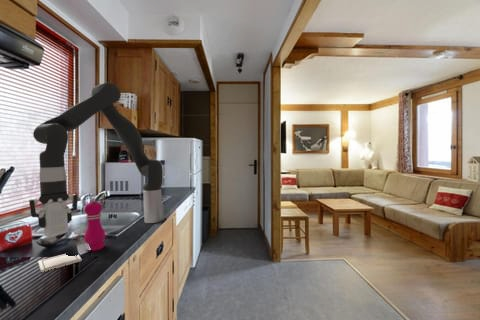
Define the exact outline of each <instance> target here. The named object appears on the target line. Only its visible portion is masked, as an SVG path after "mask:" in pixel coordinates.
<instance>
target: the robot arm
mask: <svg viewBox="0 0 480 320" xmlns="http://www.w3.org/2000/svg"><path fill="white" fill-rule="evenodd" d="M89 93H90V96H89V97H88V98H86V99H85V100H82V101H80V102H78V103H76V104H74V105H73V106H71V107H68V108H67V109H66V110H65V111H63V112H61V113H60V114H59V115H57V116H54V117H52V118H50V119H48V120H46V121H43V122H42V123H40V124H38V125H37V126H36V127H35V129H34V130H33V132H32V136H33V138H34V140H35V141H36V142H38V143H40V144H44V145H46V146H45V149H44V150H42V151H41V152H40V153H39V167H40V168H39V173H38V174H39V176H38V177H39V190H40V196H39V198H30V199H29V200H28V203H29V204H28V205H29V210H30V216H31V218H38V219H37V221H38V226H39V227H40V228H41V229H44V217H43V215H44V214H45V212H46V205H45V203H52V202H59V203H60V204H61V205H62V206H63V207H64V209H66V208H67V220H68V224H70V223H71V222H72V220H73V218H72V214H73V212H74V211H77V210H78V195H77V194H76V193H73V194H69V193H68V190H67V189H68V188H67V171H66V167H65V165H66V164H65V163H66V162H65V154H66V150H67V146H68V145H67V144H68V141H69V134H68V132H71V131H75V130H76V129H78V128H79V127H80V126H82V125H83V124H84V123H85V122H86V121H88V120H89V119H90V118H92V117H93V116H94V115H96V114H97V113H99V112H100V111H101V113H102V114H103V115H104V117H105V118H106V120H107V121H108V123H109V124H110V126H111V127H112V128H113V130H114V131H115V132H116V135H117V136H118V138H119V140H120V141H121V142H122V143H123V145H124V147H125V148H126V150H127V152H128V154H129V155H130V157H131V158H132V160H133V161H134V164H135V166H136V168H137V170H138V172H139V173H140V174H141V175H142V176H143V177H146V178H147V182H146V183H144V184H143V185H142V195H143V217H144V218H143V219H144V221H143V222H144V224H145V223H146V224H154V223H160V222H162V221H165V219H164V218H165V215H164V213H165V211H164V203H163V202H162V200H163V199H162V185H163V175H164V174H163V171H164V170H163V164H162V163H161V162H160V161H159V160H158V159H149V158H148V156H147V154H146V153H145V151H144V148H143V139H142V135H141V133H140V132H139V130H138V128H137V127H136V125H135V124H134V123H133V122H132V121H131V120H130V119H128V118H127V117H126V116H124V115H123V114H121V112H119V110H118V109H117V108H116V106H115V103H117V102H119V101H120V99H121V95H122V93H121V90H120V88H119V86H117V85H116V84H115V83H112V82H103V83H101V84H100V83H99V84H98V85H95V86H92V88H91V89H90V92H89ZM68 199H69V200H70V201H71V207H69V206H68V204H67V203H66V204H65V202H64V201H66V202H67V200H68ZM39 202H40V203H41V205H42V204H43V205H45V206H44V208H42V207H41V209H40V210H39V212H36V206H37V205H38V203H39ZM62 203H63V204H62ZM64 205H65V206H64Z"/></svg>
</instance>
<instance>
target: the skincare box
mask: <svg viewBox="0 0 480 320" xmlns="http://www.w3.org/2000/svg"><path fill="white" fill-rule="evenodd" d="M64 202H65V204H66V205H67V201H64ZM62 204H63V203H62ZM41 205H42V206H41V208H44V206H45V205H46V212H45V214H44V215H43V217H44V228H43V235H44V236H45V237H48V238H52V237H56V236H60V235H64V234H67V233H69V223H68V220H67V208H66V209H64V207H63V206H62V205H61V204H60V203H59V202H52V203H45V205H43V204H42V203H41ZM64 206H65V205H64Z"/></svg>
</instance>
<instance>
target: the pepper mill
mask: <svg viewBox="0 0 480 320" xmlns="http://www.w3.org/2000/svg"><path fill="white" fill-rule="evenodd" d="M102 210H103V204H101V203H100V202H98V201H96V198H94V197H91V198H90V202H88V203H87V204H86V205H85V206H84V213H85V214H86V216H85V217H86V220H87V228H86V230H85V232H84V236H83V240H84V241H83V242H85V243H86V245H87V244H89V246H90V248H91V250H92V251H91V252H94V251H99V250H102V249H103V248H104V247H105V241H104V240H105V238H106V232H105V230H104V228H103V227H102V224H101V218H102V213H101V212H102Z"/></svg>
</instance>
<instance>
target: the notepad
mask: <svg viewBox="0 0 480 320" xmlns="http://www.w3.org/2000/svg"><path fill="white" fill-rule="evenodd" d="M82 260H83V259H82V257H81V256H80V255H79V254H78V255H77V256H76V255H75V256H68V255H66V253H64V254H60V255H55V256H52V257H49V258H44V259H39V260H37V262H38V267H39V270H40V273H41V272H42V273H45V272H49V271H52V270H55V269H54V268H56V269H58V268H62V267H65V265H66V266H69V265H73V264H75V263H76V264H77V263H79V262H82ZM51 269H52V270H51ZM48 270H49V271H48ZM44 271H45V272H44Z"/></svg>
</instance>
